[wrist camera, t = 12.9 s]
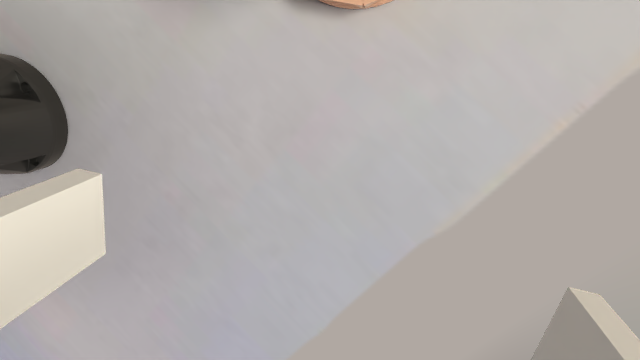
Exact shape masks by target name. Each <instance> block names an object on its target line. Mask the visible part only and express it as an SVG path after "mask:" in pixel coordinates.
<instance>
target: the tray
mask: <svg viewBox="0 0 640 360" xmlns="http://www.w3.org/2000/svg"><path fill="white" fill-rule="evenodd" d="M319 1H321V2H324V3H326V4H328V5H332V6H336V7H339V8H347V9H366V8H371V7H377V6H380V5H383V4H386V3H389V2H391V1H394V0H319Z"/></svg>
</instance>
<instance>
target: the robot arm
mask: <svg viewBox="0 0 640 360" xmlns="http://www.w3.org/2000/svg"><path fill="white" fill-rule="evenodd" d="M67 136H68V126H67V119H66V115H65V111H64V108H63V105H62V103H61V101H60V99H59V97H58V95H57V93H56V91H55V90H54V88H53V87H52V85H51V84H50V83H49V82H48V80H47V79H46V78H45V77H44V76H43V75H42V74H41V73H40V72H39V71H38V70H37V69H35V68H34V67H33V66H31V65H30V64H28V63H27V62H25V61H23V60H21V59H19V58H16V57H14V56H10V55H5V54H0V174H23V173H29V172H33V171H36V170H39V169H42V168H45V167H48V166H50V165H52V164H53V163H55V162H56V161H57V160H58V159H59V158H60V156H61V155H62V153H63V151H64V149H65V146H66V143H67ZM105 254H106V250H105V229H104V208H103V187H102V174H99V173H95V172H91V171H87V170H83V169H79V168H78V169H75V170H73V171H70V172H67V173H65V174H62V175H59V176H57V177H54V178H51V179H49V180H46V181H43V182H41V183H38V184H35V185H33V186H30V187H27V188H25V189H22V190H19V191H17V192H14V193H11V194H9V195H6V196H3V197H1V198H0V329H1V328H2V327H4V326H5V325H6V324H8V323H9V322H11V321H12V320H13V319H15V318H16V317H18V316H19V315H20V314H22V313H23V312H25V311H26V310H27V309H29V308H30V307H32V306H33V305H34V304H36V303H37V302H39V301H40V300H41V299H43V298H44V297H46V296H47V295H48V294H50V293H51V292H53V291H54V290H56V289H57V288H58V287H60V286H61V285H63V284H64V283H65V282H67V281H68V280H70V279H71V278H72V277H74V276H75V275H77V274H78V273H79V272H81V271H82V270H84V269H85V268H86V267H88V266H89V265H91V264H92V263H93V262H95V261H96V260H98V259H99V258H100V257H102V256H103V255H105ZM531 360H640V340H639V339H638V338H637V337H636V335H635V334H634V333H633V332H632V331H631V330H630V328H629V327H628V326H627V325H626V324H625V323H624V322H623V320H622V319H621V318H620V317H619V316H618V315H617V314H616V313H615V311H614V310H613V309H612V308H611V307H610V306H609V304H608V303H607V302H606V301H605V300H604V299H603V298H602V296H601V295H600V294H596V293H591V292H587V291H583V290H579V289H575V288H571V287H568V289H567V291H566V293H565V294H564V296H563V298H562V300H561V302H560V304H559V306H558V308H557V310H556V312H555V314H554V316H553V318H552V320H551V322H550V324H549V326H548V328H547V329H546V331H545V333H544V335H543V337H542V339H541V341H540V343H539V345H538V347H537V349H536V351H535V353H534V355H533V357H532V359H531Z"/></svg>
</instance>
